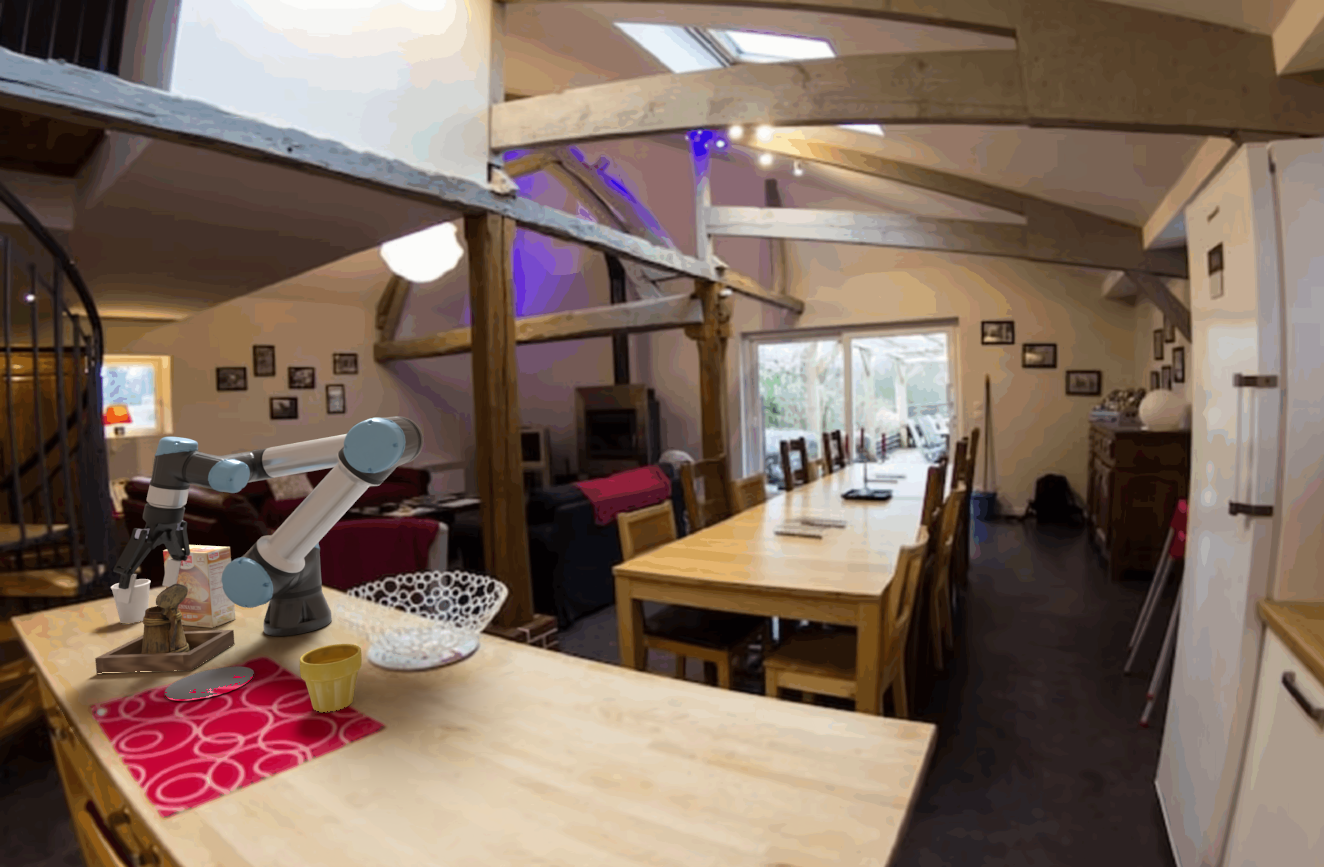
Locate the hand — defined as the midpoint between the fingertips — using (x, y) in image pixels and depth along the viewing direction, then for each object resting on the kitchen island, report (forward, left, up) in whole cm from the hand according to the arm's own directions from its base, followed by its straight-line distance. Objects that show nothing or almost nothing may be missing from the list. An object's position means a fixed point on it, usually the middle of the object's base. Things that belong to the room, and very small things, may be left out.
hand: (147, 593), depth 156 cm
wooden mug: (-8, +5, -14) cm, 16 cm away
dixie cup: (+21, -23, -14) cm, 34 cm away
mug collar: (-8, +5, -13) cm, 16 cm away
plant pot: (-57, +31, -14) cm, 66 cm away
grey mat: (-27, +20, -13) cm, 36 cm away
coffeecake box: (+1, -20, -14) cm, 24 cm away
